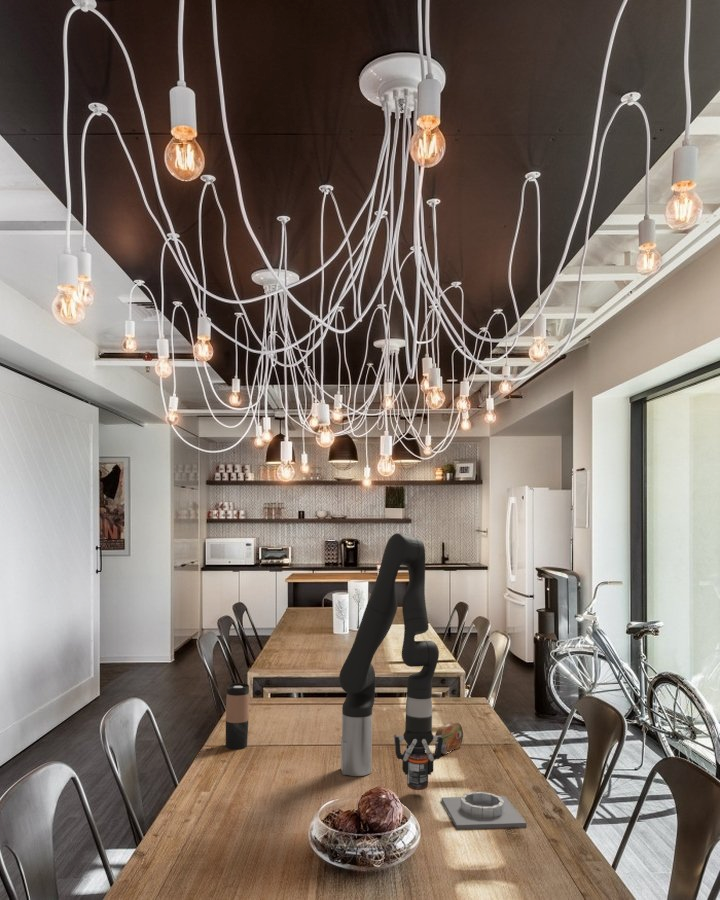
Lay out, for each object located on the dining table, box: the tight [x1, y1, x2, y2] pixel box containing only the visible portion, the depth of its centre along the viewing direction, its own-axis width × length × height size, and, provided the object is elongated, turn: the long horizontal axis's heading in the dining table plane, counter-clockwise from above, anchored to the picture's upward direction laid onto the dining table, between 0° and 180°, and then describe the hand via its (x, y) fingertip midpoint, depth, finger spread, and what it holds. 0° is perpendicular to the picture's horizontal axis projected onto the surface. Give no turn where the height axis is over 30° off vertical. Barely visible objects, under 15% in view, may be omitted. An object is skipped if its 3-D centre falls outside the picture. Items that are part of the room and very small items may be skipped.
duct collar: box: [460, 791, 504, 818], centre depth 193 cm, size 11×11×2 cm
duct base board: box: [440, 795, 528, 830], centre depth 193 cm, size 18×18×1 cm
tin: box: [434, 722, 464, 755], centre depth 245 cm, size 15×3×8 cm, turn 143°
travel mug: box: [225, 682, 250, 750], centre depth 247 cm, size 8×8×20 cm
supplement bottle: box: [406, 747, 429, 791], centre depth 205 cm, size 6×6×11 cm
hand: (417, 773), depth 205 cm, fingers closed on supplement bottle, 6 cm apart
